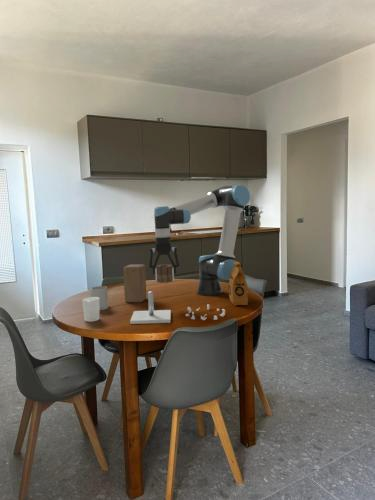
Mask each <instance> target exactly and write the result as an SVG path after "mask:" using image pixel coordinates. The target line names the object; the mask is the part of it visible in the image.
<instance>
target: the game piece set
mask: <svg viewBox="0 0 375 500" xmlns="http://www.w3.org/2000/svg"><path fill="white" fill-rule="evenodd" d="M206 307H207V308H206V309H207V310H208V311H209V310H210V304H209V303H207V305H206ZM200 308H201V307H198V308H196V311H199V310H200ZM221 310H222V313H220V314H219V316H220V317H222V318H224V316H225V315H226V309H224V308H222V309H221ZM187 311H188V313H186V314H185V317H190V313H191V314H192V315H191V317H190V319H191V320H196V316H195V315H194V314H195V312H194V311H192V307H190V306H187ZM216 311H217V312H220V308H219V307H218V308H216ZM206 319H207V313H205V314H204V316H202V315H200V320H202V321H206ZM216 320H217V321H218V315H213V321H216Z"/></svg>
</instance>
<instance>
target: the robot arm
mask: <svg viewBox="0 0 375 500" xmlns="http://www.w3.org/2000/svg"><path fill="white" fill-rule="evenodd" d="M250 200H251V193H250V190H248V187H247V186H246V185H243V184H233V185H224V186H221V187H219V188H217V189H214V190H212V191H209V192H207V194H206V195H203V196H200V197H197V198H195V199H192V200H190V201H186V202H184V203H181V204H178V205H175V206H173V207H169V206H166V205H165V206H155V207H154V211H153V212H154V215H153V217H154V228H155V229H154V231H155V235H154V236H155V247H154V248H153V247H150V248H149V251H150V257H149V265H148V267H149V269H150V268H151V269H152V274H153V275H154V276H155V282H157V268H156V266H157V264H158V261H159V259H160V256H163V255H165V256H167V257H168V259H169V261H170V263H171V265H172V277H173V281H172V282H174V281H175V275H176V274H177V267H180V263H179V259H178V253H177V246H174V247H173V246H172V243H171V227H170V226H171V225H184V224H188V223H190V222H191V219H192V217H191V215H194V214H197V213H200V212H203V211H205V210H208V209H211V208H212V209H215V208H218V207H223V208H224V210H225V213H224V218H223V223H222V229H221V235H220V239H219V246H218V249H217V250H218V251H217V252H216V253H214V254H207V255H201V256H199V259H198V265H199V267H198V268H199V269H198V270H199V271H198V272H199V280H198V281H199V282H198V284H197V289H196V294H198V295H201V296H216V295H217V296H218V295H221V294H222V293H223V288H222V286H221V282H220V280H224V281H225V280H226V281H227V280H228V281H229V278H230V273H231V271H232V270H233V268H234V267H235V264H234V262H235V261H236V256H235V255H234V251H235V244H236V240H237V235H238V229H239V224H240V218H241V213H242V212H244V209H245V206H246V205H247V204H248V203H249V202H250ZM171 250H172V252H173V254H174V259H175V262H174V260H173V257H172V256H171V253H170V252H171ZM155 251H156V252H157V256H156V258H155V261H154V263H153V260H154V259H153V258H154V253H155ZM175 263H176V264H175ZM153 275H152V276H153Z"/></svg>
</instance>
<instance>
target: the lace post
mask: <svg viewBox="0 0 375 500" xmlns="http://www.w3.org/2000/svg"><path fill="white" fill-rule="evenodd" d="M147 299H148V301H147V302H148V303H147V305H148V311H149V316H153V315H154V310H155V307H154V305H155V304H154V292H153V291H148V292H147Z"/></svg>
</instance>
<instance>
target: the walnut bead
mask: <svg viewBox="0 0 375 500" xmlns="http://www.w3.org/2000/svg"><path fill="white" fill-rule="evenodd" d="M172 267H173V265H172V264H159V265H157V264H156V267H155V268H157V281H156V283H160V284H161V283H162V284H164V283H166V284H167V283H172V282H174V281H173V277H172Z"/></svg>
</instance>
